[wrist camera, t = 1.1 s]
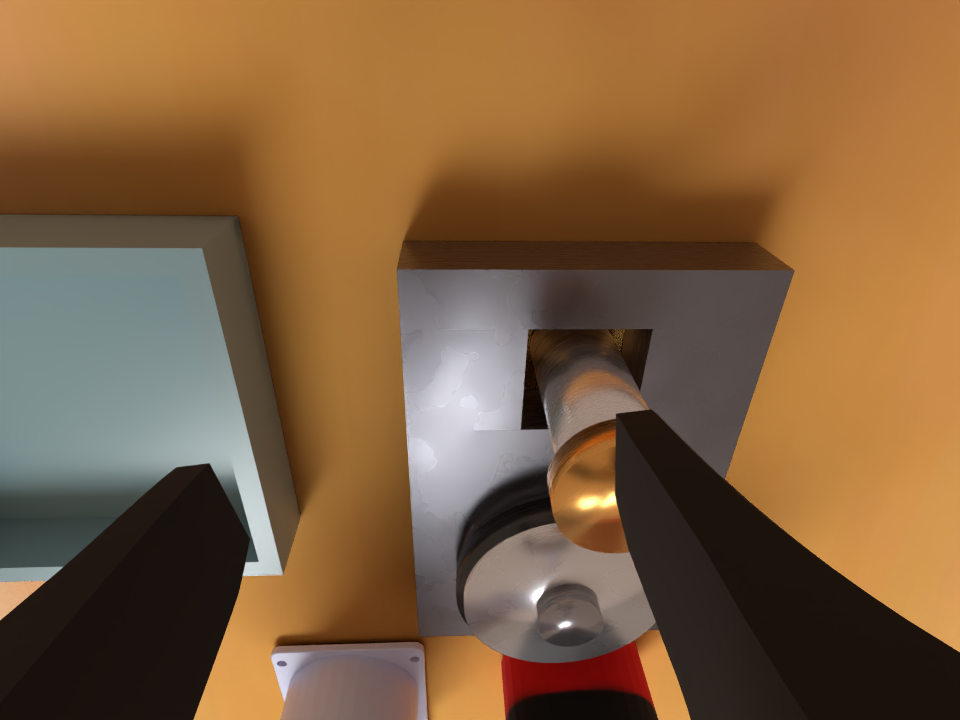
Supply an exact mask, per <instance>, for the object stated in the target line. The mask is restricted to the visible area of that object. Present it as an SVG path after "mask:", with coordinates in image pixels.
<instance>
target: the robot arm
mask: <svg viewBox="0 0 960 720" xmlns="http://www.w3.org/2000/svg"><path fill="white" fill-rule="evenodd" d="M615 499H616V503H617V507H618V511H619V515H620V519H621V523H622V527H623V530H624V534H625V538H626V542H627V546H628V549H629V552H630V555H631V558H632V560H633V563H634V566H635V568H636V571H637V574H638V576H639V579H640V582H641V584H642V587H643V590H644V592H645V595H646V597H647V600H648V603H649V605H650V608H651V611H652V613H653V616H654V618H655V621H656V624H657V626H658V629H659V631H660V634H661V637H662V639H663V642H664V645H665V647H666V650H667V652H668V655H669V658H670V660H671V663H672V665H673V668H674V671H675V673H676V676H677V679H678V682H679V684H680V687H681V690H682V693H683V696H684V699H685V702H686V705H687V708H688V711H689V715H690V718H691V720H960V652H958V651H957V650H955V649H953V648H952V647H950V646H948V645H947V644H945V643H944V642H942V641H940V640H939V639H937V638H936V637H934V636H932V635H931V634H929V633H928V632H926V631H924V630H923V629H921V628H919V627H918V626H916V625H915V624H913V623H911V622H910V621H908V620H907V619H905V618H904V617H902V616H901V615H899V614H898V613H896V612H895V611H893V610H892V609H890V608H889V607H887V606H886V605H884V604H883V603H881V602H880V601H878V600H877V599H875V598H874V597H872V596H871V595H869V594H868V593H867V592H865V591H864V590H862V589H861V588H860V587H858V586H857V585H855V584H854V583H853V582H851V581H850V580H848V579H847V578H846V577H844V576H843V575H841V574H840V573H839V572H837V571H836V570H834V569H833V568H832V567H830V566H829V565H828V564H826V563H825V562H824V561H822V560H821V559H820V558H818V557H817V556H816V555H814V554H813V553H812V552H811V551H809V550H808V549H807V548H805V547H804V546H803V545H801V544H800V543H799V542H798V541H796V540H795V539H794V538H793V537H791V536H790V535H789V534H788V533H787V532H785V531H784V530H783V529H782V528H780V527H779V526H778V525H777V524H775V523H774V522H773V521H772V520H770V519H769V518H768V517H767V516H766V515H765V514H763V513H762V512H761V511H760V510H759V509H758V508H756V507H755V506H754V505H753V504H752V503H750V502H749V501H748V500H747V499H746V498H745V497H744V496H743V495H741V494H740V493H739V492H738V491H737V490H736V489H735V488H734V487H733V486H731V485H730V484H729V483H728V482H727V481H726V480H725V479H724V478H722V477H721V476H720V475H719V474H718V473H717V472H716V471H715V470H714V469H713V468H712V467H711V466H710V465H708V464H707V463H706V462H705V461H704V460H703V459H702V458H701V457H700V456H699V455H698V454H697V453H696V452H695V451H694V450H693V449H692V448H691V447H690V446H689V445H688V444H687V443H686V442H685V441H684V440H683V439H682V438H681V437H680V436H679V435H678V434H677V433H676V432H675V431H674V430H673V429H672V428H671V427H670V426H669V425H668V424H667V423H666V422H665V421H664V420H663V419H662V418H661V417H660V416H659V415H658V414H657V413H656V412H654V411H653V410H652V409H649V410H641V411H633V412H625V413H616V450H615ZM249 542H250V538H249V536H248V534H247V532H246V530H245V529H244V527H243V525H242V523H241V521H240V519H239V517H238V516H237V514H236V512H235V510H234V508H233V506H232V504H231V502H230V501H229V499H228V497H227V495H226V493H225V491H224V489H223V487H222V486H221V484H220V482H219V480H218V478H217V476H216V474H215V472H214V471H213V469H212V467H211V465H210V463H207V464H198V465H190V466H182V467H176V468H175V469H173V470H172V471H171V472H170V473H168V474H167V475H166V476H165V477H163V478H162V479H161V480H160V481H159V482H158V483H156V484H155V485H154V486H153V487H152V488H151V489H150V490H148V491H147V492H146V493H145V494H144V495H143V496H142V497H141V498H139V499H138V500H137V501H136V502H135V503H134V504H133V505H132V506H131V507H129V508H128V509H127V510H126V511H125V512H124V513H123V514H122V515H121V516H119V517H118V518H117V519H116V520H115V521H114V522H113V523H112V524H111V525H110V526H108V527H107V528H106V529H105V530H104V531H103V532H102V533H101V534H100V535H98V536H97V537H96V538H95V539H94V540H93V541H92V542H91V543H90V544H88V545H87V546H86V547H85V548H84V549H83V550H82V551H81V552H80V553H78V554H77V555H76V556H75V557H74V558H73V559H72V560H71V561H69V562H68V563H67V564H66V565H65V566H64V567H63V568H62V569H60V570H59V571H58V572H57V573H56V574H55V575H53V576H52V577H51V578H50V579H49V580H48V581H46V582H45V583H44V584H43V585H42V586H41V587H39V588H38V589H37V590H36V591H35V592H33V593H32V594H31V595H30V596H29V597H28V598H26V599H25V600H24V601H23V602H22V603H20V604H19V605H18V606H17V607H16V608H15V609H13V610H12V611H11V612H10V613H9V614H7V615H6V616H5V617H4V618H3V619H2V620H0V720H193V719H194V716H195V714H196V711H197V708H198V705H199V703H200V700H201V697H202V694H203V692H204V689H205V686H206V683H207V681H208V678H209V675H210V672H211V670H212V667H213V664H214V661H215V659H216V656H217V653H218V650H219V648H220V645H221V642H222V639H223V637H224V634H225V631H226V628H227V625H228V622H229V620H230V617H231V614H232V611H233V608H234V605H235V602H236V599H237V596H238V593H239V589H240V585H241V580H242V576H243V572H244V567H245V562H246V557H247V552H248V547H249ZM271 659H272V663H273V666H274V669H275V673H276V676H277V679H278V683H279V686H280V689H281V693H282V696H283V699H284V707H283V711H282V715H281V719H280V720H428V713H427V694H426V675H425V656H424V646H423V645H422V644H421V643H419V642H394V643H362V644H329V645H297V646H278V647H276V648H274V649H273V651H272V654H271Z"/></svg>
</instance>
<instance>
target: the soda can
mask: <svg viewBox="0 0 960 720" xmlns="http://www.w3.org/2000/svg"><path fill="white" fill-rule="evenodd" d="M501 664H502V680H503V692H504V705H505V717H506V720H658V718H657V714H656V711H655V708H654V704H653V701H652V698H651V694H650V691H649V688H648V684H647V681H646V677H645V674H644V671H643V667H642V664H641V661H640V657H639V654H638V651H637V647H636V645H635V643H634V641H632V642H631V643H629V644H627V645H625V646H623V647H621V648H619V649H617V650H615V651H612V652H609V653H607V654H604V655H601V656H597V657H594V658H590V659H585V660H580V661H573V662H563V663H541V662H531V661H525V660H520V659H517V658H513V657H510V656H507V655H503V659H502V662H501Z"/></svg>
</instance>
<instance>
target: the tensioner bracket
mask: <svg viewBox="0 0 960 720" xmlns="http://www.w3.org/2000/svg"><path fill="white" fill-rule="evenodd" d="M793 273H794V270H793V269H792V268H790V267H789V266H788V265H786V264H785V263H783V262H782V261H781V260H779V259H778V258H776V257H775V256H774V255H772V254H771V253H769V252H768V251H767V250H765V249H764V248H762V247H761V246H760V245H758V244H757V243H711V242H509V241H403V244H402V248H401V253H400V257H399V262H398V266H397V280H398V297H399V313H400V330H401V347H402V363H403V380H404V396H405V413H406V430H407V446H408V463H409V479H410V496H411V513H412V529H413V546H414V563H415V579H416V596H417V612H418V629H419V637H432V636H465V635H475V636H476V637H477V638H478V639H479V640H481V641H482V642H483V643H484V644H485V645H487V646H488V647H490V648H491V649H493V650H495V651H497V652H499V653H501V654H504V655H507V656H510V657H513V658H517V659H520V660H525V661H531V662H541V663H563V662H573V661H580V660H585V659H590V658H594V657H597V656H601V655H604V654H607V653H609V652H612V651H615V650H617V649H619V648H621V647H623V646H625V645H627V644H629V643H631V642H632V641H634V640H635V639H637V638H638V637H640V636H641V635H642V634H644V633H645V632H646V631H647V630H659V629H658V626H657V624H656V621H655V618H654V616H653V613H652V611H651V608H650V605H649V603H648V600H647V597H646V595H645V592H644V590H643V587H642V584H641V582H640V579H639V576H638V574H637V571H636V568H635V566H634V563H633V560H632V558H631V555H630V552H628V553H602V552H596V551H591V550H588V549H585V548H582V547H580V546H578V545H576V544H575V543H573V542H571V541H570V540H569V539H568V538H566V537H565V536H564V535H563V534H562V532H561V531H560V530H559V528H558V527H557V525H556V522H555V520H554V516H553V511H552V506H551V502H550V497H549V492H548V487H547V474H548V469H549V466H550V463H551V461H552V459H553V457H554V455H555V453H554V449H553V445H552V441H551V437H550V432H549V428H548V424H547V420H546V416H545V412H544V408H543V404H542V399H541V395H540V391H539V390H524V379H525V366H526V352H527V339H528V329H625V334H624V339H623V345H622V351H621V356H622V358H623V360H624V361H625V363H626V365H627V367H628V369H629V371H630V373H631V375H632V377H633V379H634V381H635V383H636V385H637V387H638V389H639V391H640V392H641V394H642V396H643V398H644V400H645V402H646V404H647V406H648V408H649V409H652V410H653V411H654V412H656V413H657V414H658V415H659V416H660V417H661V418H662V419H663V420H664V421H665V422H666V423H667V424H668V425H669V426H670V427H671V428H672V429H673V430H674V431H675V432H676V433H677V434H678V435H679V436H680V437H681V438H682V439H683V440H684V441H685V442H686V443H687V444H688V445H689V446H690V447H691V448H692V449H693V450H694V451H695V452H696V453H697V454H698V455H699V456H700V457H701V458H702V459H703V460H704V461H705V462H706V463H707V464H708V465H710V466H711V467H712V468H713V469H714V470H715V471H716V472H717V473H718V474H719V475H720V476H721V477H722V478H724V479H725V477H726V474H727V471H728V468H729V465H730V462H731V459H732V456H733V453H734V450H735V447H736V444H737V441H738V438H739V435H740V432H741V429H742V426H743V423H744V420H745V417H746V414H747V411H748V408H749V405H750V402H751V399H752V396H753V393H754V390H755V387H756V384H757V381H758V378H759V375H760V372H761V369H762V366H763V363H764V360H765V357H766V354H767V351H768V348H769V345H770V342H771V339H772V336H773V333H774V330H775V327H776V324H777V321H778V318H779V315H780V312H781V309H782V306H783V303H784V300H785V297H786V294H787V291H788V288H789V285H790V282H791V279H792V276H793Z"/></svg>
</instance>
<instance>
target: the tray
mask: <svg viewBox="0 0 960 720" xmlns="http://www.w3.org/2000/svg"><path fill="white" fill-rule="evenodd" d="M207 463H210V465H211V467H212V469H213V471H214V472H215V474H216V476H217V478H218V480H219V482H220V484H221V486H222V487H223V489H224V491H225V493H226V495H227V497H228V499H229V501H230V502H231V504H232V506H233V508H234V510H235V512H236V514H237V516H238V517H239V519H240V521H241V523H242V525H243V527H244V529H245V530H246V532H247V534H248V536H249V538H250V542H249V547H248V552H247V557H246V562H245V567H244V572H243V576H261V575H283V574H284V570H285V567H286V564H287V560H288V557H289V554H290V551H291V547H292V544H293V541H294V537H295V534H296V531H297V527H298V524H299V521H300V513H299V509H298V504H297V499H296V494H295V489H294V484H293V480H292V475H291V470H290V465H289V460H288V455H287V451H286V446H285V441H284V436H283V431H282V426H281V421H280V417H279V412H278V407H277V402H276V397H275V392H274V388H273V383H272V378H271V373H270V368H269V363H268V359H267V354H266V349H265V344H264V339H263V334H262V330H261V325H260V320H259V315H258V310H257V305H256V301H255V296H254V291H253V286H252V281H251V276H250V272H249V267H248V262H247V257H246V252H245V247H244V243H243V238H242V233H241V228H240V223H239V218H238V216H176V215H35V214H0V582H18V581H48V580H49V579H50V578H51V577H52V576H53V575H55V574H56V573H57V572H58V571H59V570H60V569H62V568H63V567H64V566H65V565H66V564H67V563H68V562H69V561H71V560H72V559H73V558H74V557H75V556H76V555H77V554H78V553H80V552H81V551H82V550H83V549H84V548H85V547H86V546H87V545H88V544H90V543H91V542H92V541H93V540H94V539H95V538H96V537H97V536H98V535H100V534H101V533H102V532H103V531H104V530H105V529H106V528H107V527H108V526H110V525H111V524H112V523H113V522H114V521H115V520H116V519H117V518H118V517H119V516H121V515H122V514H123V513H124V512H125V511H126V510H127V509H128V508H129V507H131V506H132V505H133V504H134V503H135V502H136V501H137V500H138V499H139V498H141V497H142V496H143V495H144V494H145V493H146V492H147V491H148V490H150V489H151V488H152V487H153V486H154V485H155V484H156V483H158V482H159V481H160V480H161V479H162V478H163V477H165V476H166V475H167V474H168V473H170V472H171V471H172V470H173V469H175V468H176V467H182V466H190V465H198V464H207Z"/></svg>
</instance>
